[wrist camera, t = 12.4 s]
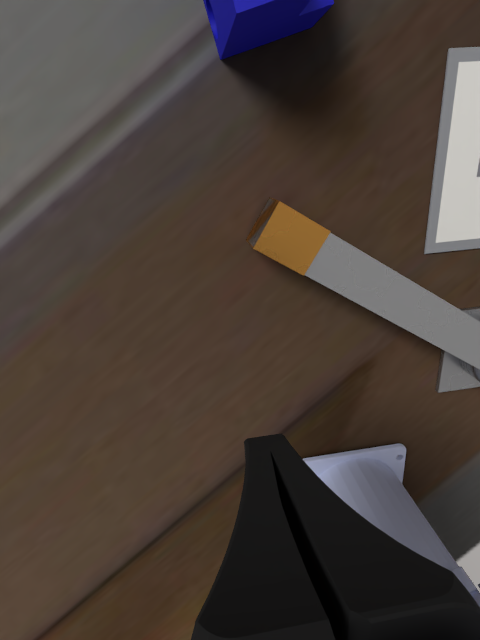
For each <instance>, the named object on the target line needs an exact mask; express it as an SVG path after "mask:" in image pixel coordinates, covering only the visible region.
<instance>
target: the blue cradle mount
mask: <svg viewBox="0 0 480 640" xmlns="http://www.w3.org/2000/svg"><path fill="white" fill-rule="evenodd" d="M203 1H204V4H205V8H206V11H207V15H208V18H209V22H210V25H211V29H212V32H213V35H214V39H215V42H216V46H217V49H218V53H219V56H220V60H222V59H225V58H228V57H230V56H233V55H236V54H239V53H242V52H244V51H247V50H250V49H253V48H256V47H258V46H261V45H264V44H267V43H270V42H272V41H275V40H278V39H281V38H284V37H287V36H289V35H292V34H295V33H298V32H301V31H303V30H306V29H309V28H312V27H313V26H314V25H315V24H316V22H317V21H318V20H319V19H320V18H321V17H322V16H323V15H324V14H325V13H326V12H327V11H328V9H329V8H330V7H331V6H332V5H333V4H334V0H203Z"/></svg>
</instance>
